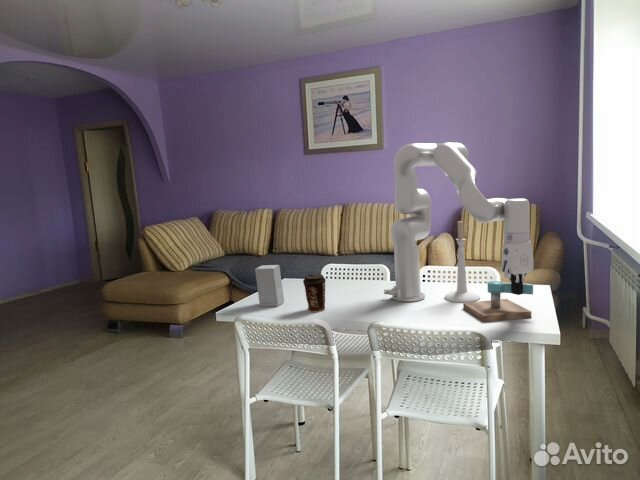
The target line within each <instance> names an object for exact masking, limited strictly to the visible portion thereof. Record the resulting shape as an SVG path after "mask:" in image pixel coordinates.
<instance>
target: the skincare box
mask: <svg viewBox="0 0 640 480" xmlns="http://www.w3.org/2000/svg"><path fill="white" fill-rule="evenodd" d="M280 266H281V265H280V264H269V265H266V264H265V265H260V266H257V267H256V268H255V269H254V274H255V278H256V286H257V287H256V288H257V294H258V301H259V307H279V306H281V305H282V304H283V303H284V302H285V298H284V291H283V290H284V289H283V283H282V276H281V268H280Z"/></svg>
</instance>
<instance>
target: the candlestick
mask: <svg viewBox="0 0 640 480" xmlns="http://www.w3.org/2000/svg"><path fill="white" fill-rule="evenodd" d="M455 240H456V241H457V242H456V243H457V245H458V249H457V279H456V280H457V282H456V283H457V285H456V290H454V291H450V292H447V294H445V296H444V299H445V301H448V302H451V303H459V304H460V303H461V304H463V303H468V302H479V301H480V299H481V297H480V295H479V294H478V293H476V292H474V291H470V290H468V286H467V275H466V273H467V272H466V262H465V261H466V260H465V259H466V258H465V248H464V245H465V241H466V238H464V221H462V220H459V221H457V238H455Z"/></svg>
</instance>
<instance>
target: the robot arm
mask: <svg viewBox="0 0 640 480" xmlns="http://www.w3.org/2000/svg"><path fill="white" fill-rule="evenodd" d="M393 158H394V159H393V170H394V209H395V211H396V212H397V213H398V214H401V215H410V216H407V217H402V218H398V219H397V220H395V221H393V223H392V225H391V228H390V237H391V240H392V244H393V256H394V258H393V259H394V273H395V274H394V277H395V279H394V280H395V285H394V286H393V287H392V288H390V289H387V288H386V289H384V290H383V294H384V295H389V296H391V298H392V299H393V300H395V301H398V302H404V303H405V302H407V303H409V302H410V303H411V302H417V301H423V300H424V299H425V297H426V294H425V293H423V292H421V271H420V270H421V269H420V268H421V266H420V252H419V247H418V245H417V242H416V241H419V240H423V239H425V238H427V237H428V236H429V235H430V233H431V230H432V229H431V228H432V200H431V195H430V194H429V193H428V191H427V190H425V189H424V188H418V183H419V182H418V175H417V171H416V170H415V168H416V167H438V168H439V169H440V170H441V171H442V172H443V174H444V175H445V176H446V177H447V178H448V179H449V181H450V182H451V183H452V184H453V186H455V189H456V193H457V197H458V199H459V201H460V204H461V205H462V207H463V208H464V209H465V211H467V213H468V214H469V215H470V216H471V217H472V218H473V219H474V220H475V221H477V222H479V223H482V224H487V223H493V222H498V221H503V243H502V244H503V245H502V249H501V251H502V252H501V272H502V273H503V277H504V278H505V279H509V283H511V293H510V294H513V295H517V296H521V295H524V294H523V284H524V282H525V277H526V276H527V275H529V274H530V272H532V271H533V270H534V265H535V264H534V250H533V245H532V241H531V239H530V237H531V236H530V235H531V233H530V230H531V229H530V221H531V220H530V202H529V200H528V199H526V198H502V197H493V198H486V197H485V196H484V194H483V193H482V192H481V191H480V190H479V189H478V187H477V185H476V182H475V179H476V177H477V175H478V171H477V170H476V168H475V167H474V166H473V165H472V164H471V163H470V162H469V161H468V160H469V150H468V148H467V147H466V146H465V145H464V144H462V143H460V142H442V143H432V142H431V143H429V142H428V143H426V142H425V143H423V142H413V143H407V144H405V145H403V146H401V147H400V148H399V149H398V150H397V152H396V154H395V156H394V157H393Z"/></svg>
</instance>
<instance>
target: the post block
mask: <svg viewBox="0 0 640 480" xmlns="http://www.w3.org/2000/svg"><path fill="white" fill-rule="evenodd" d="M462 304H463V306H462V307H463V310H466V312H468V313H470V314H471V315H473V316H474V317H476V318H477V319H479V320H480V321H482V322H484V323H487V322H496V321H497V322H499V321H507V320H508V321H509V320H517V319H518V320H519V319H529V318H530V319H531V318H532V311H531V310H529V308H525V307H523V306H522V305H519V304H517V303H515V302H514V301H511V300H510V299H508V298H505V299H503V298H502V299H501V293H498V294H495V293H490V300H482V301H481V300H478V301H475V302H468V303H462Z"/></svg>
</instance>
